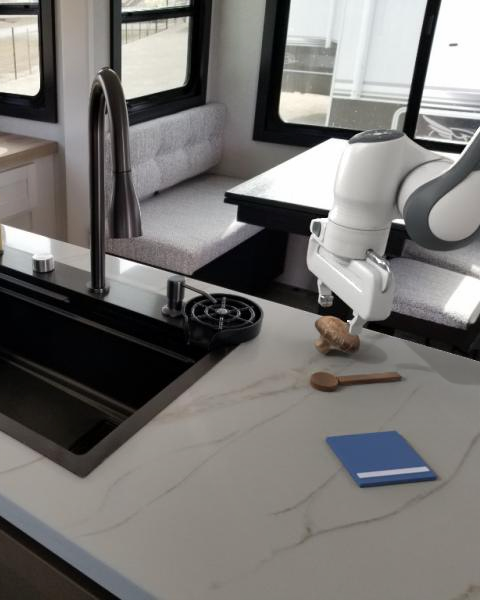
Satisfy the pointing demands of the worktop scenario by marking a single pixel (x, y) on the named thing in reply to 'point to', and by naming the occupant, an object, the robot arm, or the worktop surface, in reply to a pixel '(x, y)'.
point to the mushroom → (335, 336)
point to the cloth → (379, 459)
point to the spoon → (349, 379)
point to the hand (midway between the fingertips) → (338, 318)
